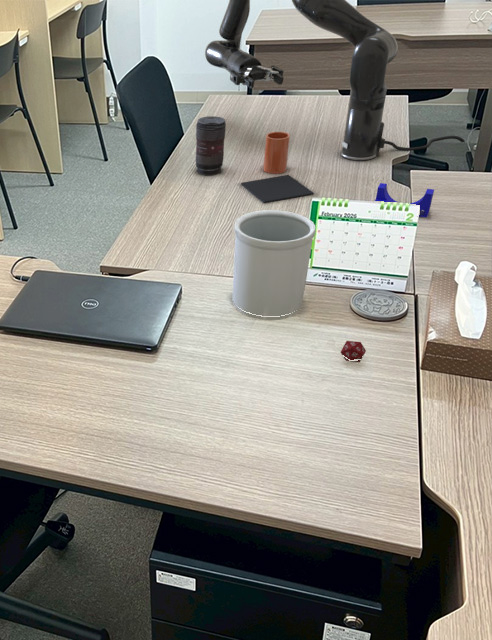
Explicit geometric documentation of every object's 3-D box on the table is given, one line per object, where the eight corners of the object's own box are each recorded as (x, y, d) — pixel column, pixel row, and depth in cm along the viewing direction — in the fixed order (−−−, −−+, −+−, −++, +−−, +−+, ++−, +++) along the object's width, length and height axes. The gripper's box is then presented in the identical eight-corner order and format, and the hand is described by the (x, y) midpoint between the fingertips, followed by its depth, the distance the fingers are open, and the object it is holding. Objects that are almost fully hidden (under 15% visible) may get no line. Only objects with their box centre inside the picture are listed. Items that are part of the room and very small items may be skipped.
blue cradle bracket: (372, 212, 174) (376, 189, 171) (376, 205, 177) (380, 183, 174) (425, 220, 168) (431, 196, 165) (428, 212, 171) (434, 189, 168)
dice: (335, 355, 128) (338, 337, 126) (360, 353, 128) (364, 335, 126) (342, 367, 125) (345, 349, 123) (368, 366, 125) (371, 347, 122)
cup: (279, 164, 205) (283, 130, 200) (290, 171, 200) (294, 137, 194) (259, 167, 204) (262, 133, 199) (269, 175, 199) (272, 140, 194)
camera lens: (225, 174, 202) (228, 123, 194) (197, 177, 203) (198, 125, 194) (220, 164, 209) (223, 114, 201) (193, 167, 209) (194, 116, 201)
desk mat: (288, 176, 197) (288, 174, 197) (313, 194, 186) (313, 192, 186) (241, 184, 196) (241, 182, 195) (263, 203, 184) (264, 201, 184)
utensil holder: (254, 277, 153) (261, 202, 144) (318, 298, 144) (330, 220, 134) (215, 306, 145) (219, 229, 136) (280, 330, 136) (289, 249, 126)
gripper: (222, 56, 208) (244, 72, 195) (267, 51, 210) (292, 66, 197) (219, 82, 213) (241, 99, 200) (264, 76, 214) (288, 93, 201)
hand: (267, 82), depth 198 cm, fingers open, 8 cm apart
